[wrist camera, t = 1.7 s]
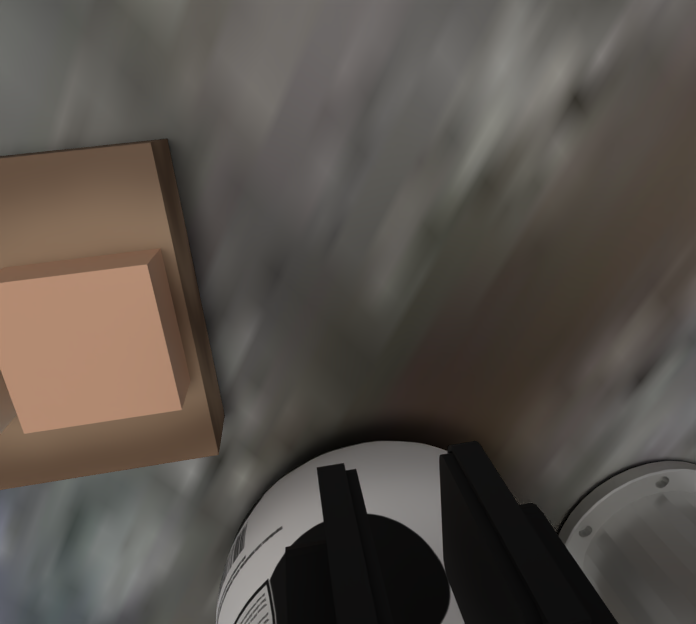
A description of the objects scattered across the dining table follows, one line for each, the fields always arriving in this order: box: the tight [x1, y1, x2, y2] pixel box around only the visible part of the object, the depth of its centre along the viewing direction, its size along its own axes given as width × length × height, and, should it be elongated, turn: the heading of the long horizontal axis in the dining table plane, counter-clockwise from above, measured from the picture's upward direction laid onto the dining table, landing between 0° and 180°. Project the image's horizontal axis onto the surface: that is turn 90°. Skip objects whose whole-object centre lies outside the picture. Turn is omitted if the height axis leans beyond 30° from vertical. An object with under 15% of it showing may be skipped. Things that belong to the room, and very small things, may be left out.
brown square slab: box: [0, 139, 225, 490], centre depth 23 cm, size 14×14×4 cm
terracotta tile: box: [0, 248, 191, 434], centre depth 21 cm, size 6×6×2 cm
